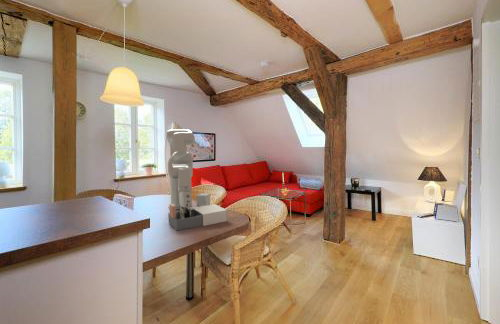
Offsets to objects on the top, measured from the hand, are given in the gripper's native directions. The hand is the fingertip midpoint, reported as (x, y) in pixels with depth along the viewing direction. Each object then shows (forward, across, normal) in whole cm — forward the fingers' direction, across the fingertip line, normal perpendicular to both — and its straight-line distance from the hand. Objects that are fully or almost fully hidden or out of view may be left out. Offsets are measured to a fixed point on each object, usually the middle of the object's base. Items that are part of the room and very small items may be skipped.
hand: (185, 217), depth 148 cm
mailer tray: (+4, 0, -1) cm, 4 cm away
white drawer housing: (+4, 0, -16) cm, 16 cm away
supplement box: (+4, +19, -20) cm, 28 cm away
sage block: (+1, 0, 0) cm, 1 cm away
